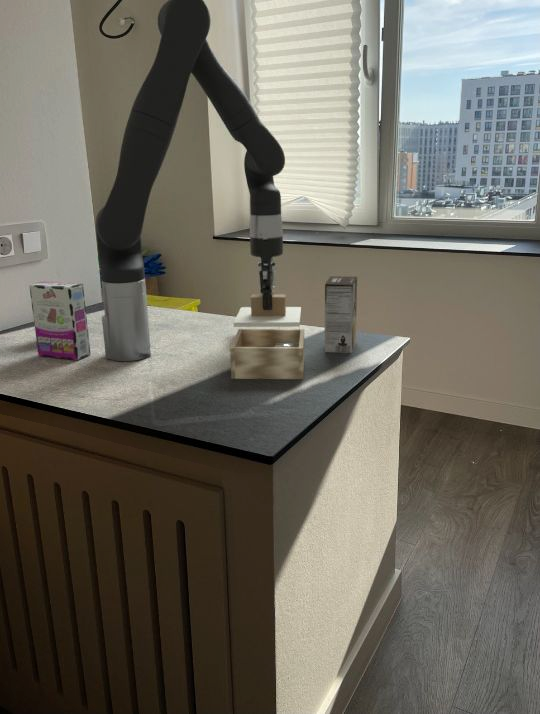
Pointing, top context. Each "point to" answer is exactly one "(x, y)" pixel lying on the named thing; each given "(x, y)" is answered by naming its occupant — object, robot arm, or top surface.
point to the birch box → (267, 354)
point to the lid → (268, 313)
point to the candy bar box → (60, 320)
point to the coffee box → (340, 314)
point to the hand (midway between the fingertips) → (268, 307)
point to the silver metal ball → (284, 344)
